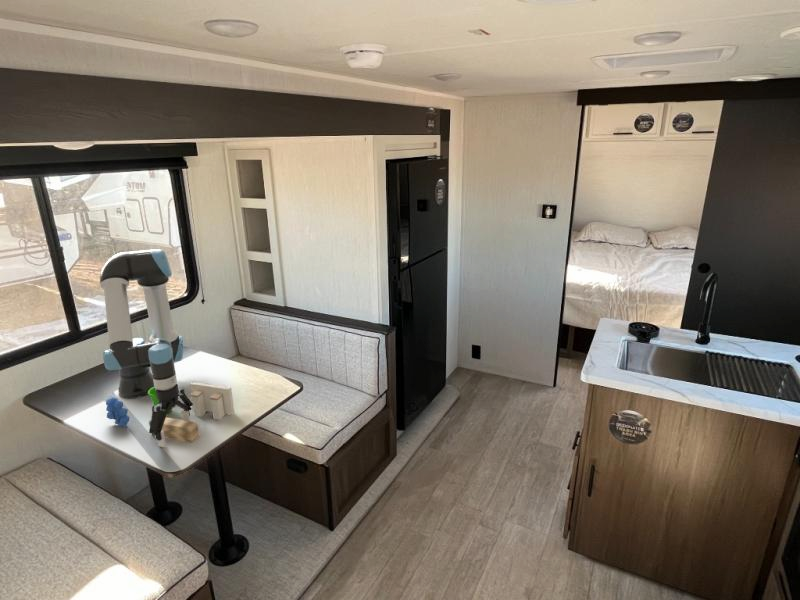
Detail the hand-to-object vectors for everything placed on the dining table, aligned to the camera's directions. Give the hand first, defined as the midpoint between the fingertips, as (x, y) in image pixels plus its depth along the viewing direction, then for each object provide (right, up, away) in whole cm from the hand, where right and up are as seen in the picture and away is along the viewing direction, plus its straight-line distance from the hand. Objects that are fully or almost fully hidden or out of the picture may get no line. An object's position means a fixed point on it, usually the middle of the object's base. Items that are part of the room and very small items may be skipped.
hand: (175, 435), depth 174 cm
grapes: (-26, +2, +6) cm, 26 cm away
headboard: (+8, +5, +14) cm, 17 cm away
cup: (-12, +5, +15) cm, 19 cm away
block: (0, 0, 0) cm, 0 cm away
